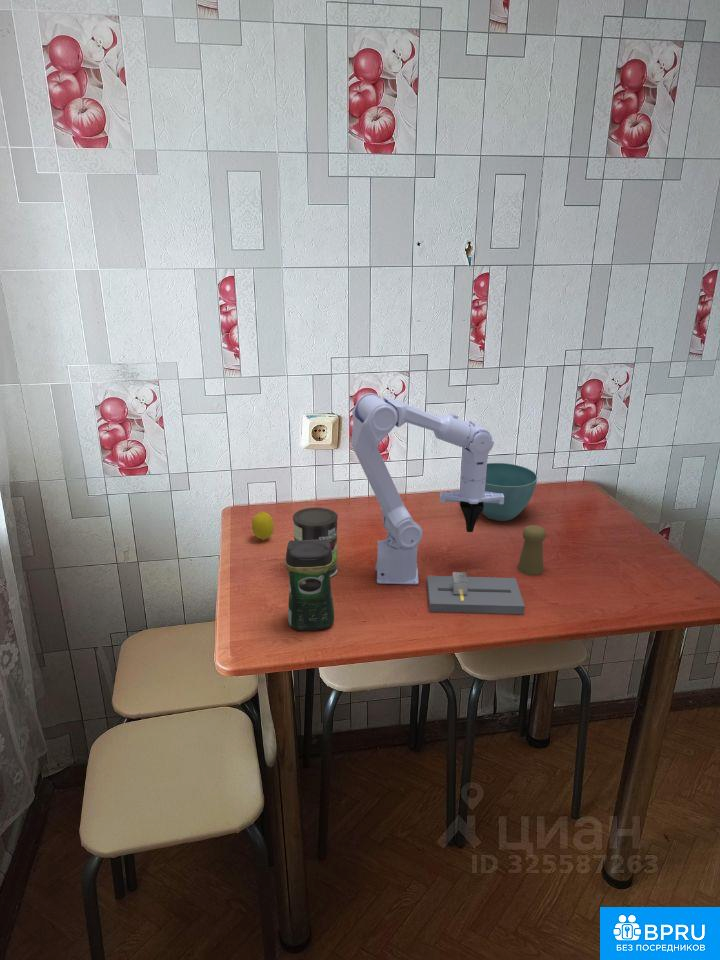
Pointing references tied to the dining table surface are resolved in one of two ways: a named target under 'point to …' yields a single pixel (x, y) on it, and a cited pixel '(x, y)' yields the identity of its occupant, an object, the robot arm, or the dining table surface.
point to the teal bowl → (508, 489)
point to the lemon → (262, 525)
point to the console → (475, 596)
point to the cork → (532, 551)
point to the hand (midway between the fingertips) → (469, 530)
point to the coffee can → (317, 528)
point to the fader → (459, 583)
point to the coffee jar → (310, 584)
